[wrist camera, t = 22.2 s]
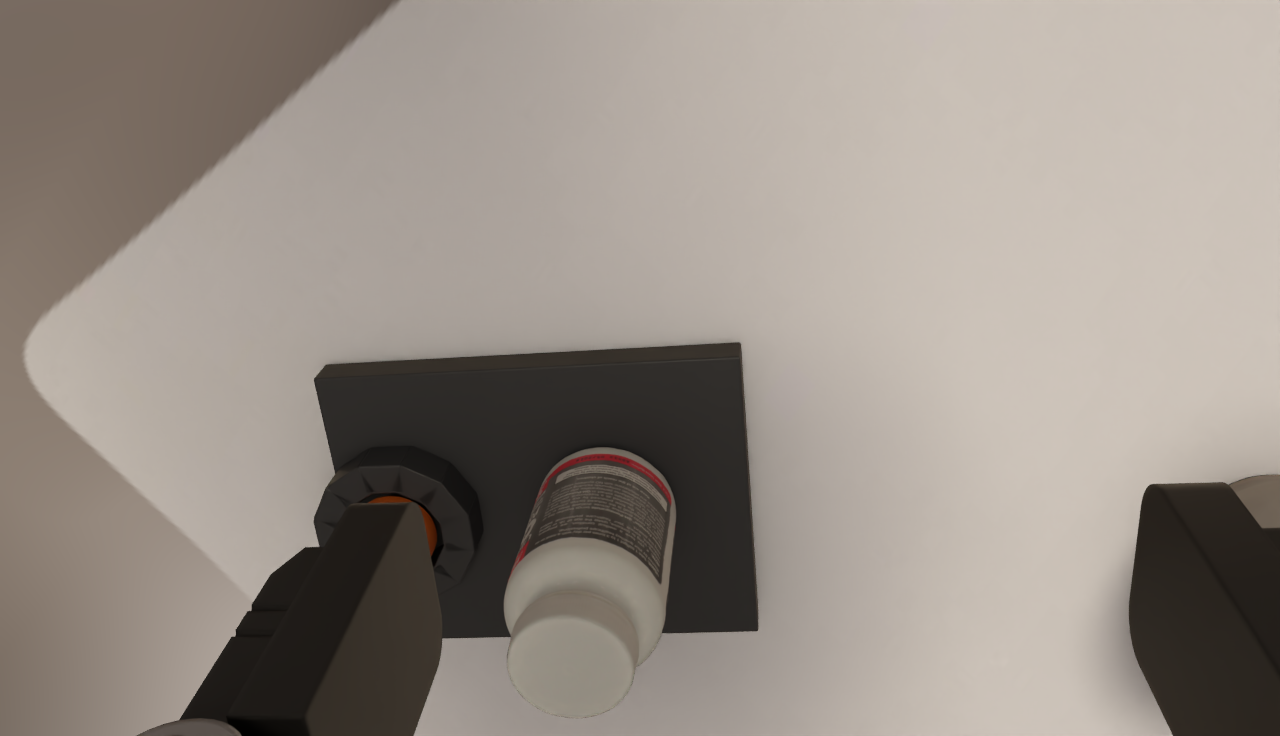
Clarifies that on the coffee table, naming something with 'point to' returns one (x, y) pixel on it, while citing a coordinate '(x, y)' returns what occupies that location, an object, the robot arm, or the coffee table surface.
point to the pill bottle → (590, 582)
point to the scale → (548, 462)
